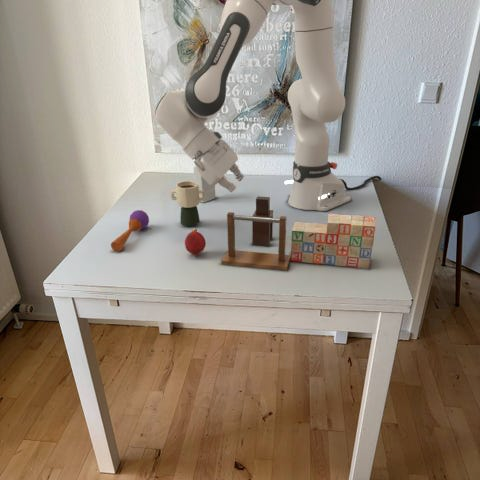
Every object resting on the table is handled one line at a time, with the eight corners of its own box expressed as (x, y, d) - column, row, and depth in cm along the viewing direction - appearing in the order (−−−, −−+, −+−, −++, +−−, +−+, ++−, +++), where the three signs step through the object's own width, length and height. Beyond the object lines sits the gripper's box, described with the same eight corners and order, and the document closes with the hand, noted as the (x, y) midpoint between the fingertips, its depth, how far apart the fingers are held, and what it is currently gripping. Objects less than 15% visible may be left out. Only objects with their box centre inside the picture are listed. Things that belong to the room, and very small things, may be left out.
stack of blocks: (289, 261, 134) (291, 219, 127) (293, 251, 139) (295, 210, 132) (369, 269, 130) (376, 225, 123) (369, 258, 135) (376, 216, 128)
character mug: (208, 220, 160) (206, 181, 153) (205, 228, 154) (202, 188, 147) (176, 219, 161) (172, 180, 154) (171, 228, 155) (167, 187, 148)
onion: (198, 261, 135) (196, 235, 131) (181, 256, 138) (179, 230, 133) (210, 253, 139) (208, 227, 135) (194, 249, 142) (192, 223, 137)
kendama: (103, 238, 140) (131, 208, 155) (111, 256, 143) (137, 225, 158) (121, 236, 138) (148, 206, 153) (128, 254, 141) (154, 223, 156)
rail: (221, 264, 134) (219, 217, 126) (228, 253, 139) (226, 208, 132) (286, 270, 130) (288, 223, 122) (290, 259, 136) (292, 213, 128)
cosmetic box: (208, 195, 179) (206, 162, 172) (215, 198, 176) (214, 165, 170) (195, 200, 175) (193, 166, 169) (203, 203, 173) (201, 169, 166)
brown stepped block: (256, 237, 148) (256, 194, 141) (272, 238, 147) (273, 195, 139) (252, 245, 144) (252, 200, 136) (269, 246, 143) (269, 202, 135)
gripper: (198, 149, 124) (236, 189, 127) (220, 130, 140) (253, 166, 144) (183, 166, 127) (220, 204, 131) (206, 145, 144) (239, 180, 147)
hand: (238, 184), depth 137 cm, fingers open, 8 cm apart
